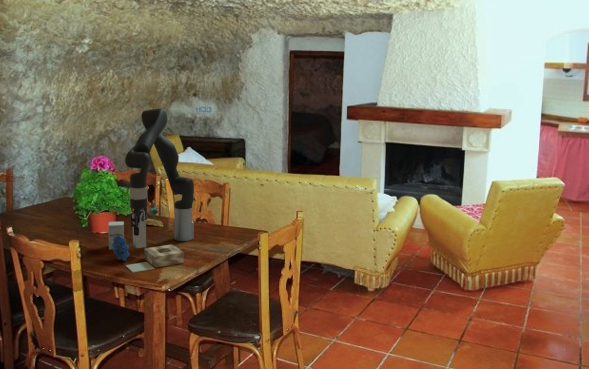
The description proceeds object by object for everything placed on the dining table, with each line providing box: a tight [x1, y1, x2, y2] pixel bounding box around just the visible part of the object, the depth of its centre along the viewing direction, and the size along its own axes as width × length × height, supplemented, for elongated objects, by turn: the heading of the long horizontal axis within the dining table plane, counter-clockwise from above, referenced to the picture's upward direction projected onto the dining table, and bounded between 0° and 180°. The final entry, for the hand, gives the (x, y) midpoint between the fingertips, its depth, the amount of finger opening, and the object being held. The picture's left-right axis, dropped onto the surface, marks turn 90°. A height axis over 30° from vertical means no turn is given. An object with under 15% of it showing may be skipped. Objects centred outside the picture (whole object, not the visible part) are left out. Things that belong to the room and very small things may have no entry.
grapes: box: [112, 235, 130, 262], centre depth 274 cm, size 12×7×12 cm, turn 50°
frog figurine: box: [145, 200, 164, 228], centre depth 337 cm, size 10×18×15 cm, turn 55°
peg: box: [132, 219, 147, 249], centre depth 263 cm, size 4×4×12 cm
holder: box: [143, 244, 185, 268], centre depth 276 cm, size 14×14×5 cm
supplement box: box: [107, 221, 125, 251], centre depth 293 cm, size 7×7×13 cm
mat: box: [125, 261, 156, 274], centre depth 266 cm, size 10×10×1 cm
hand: (139, 233), depth 263 cm, fingers closed on peg, 6 cm apart
